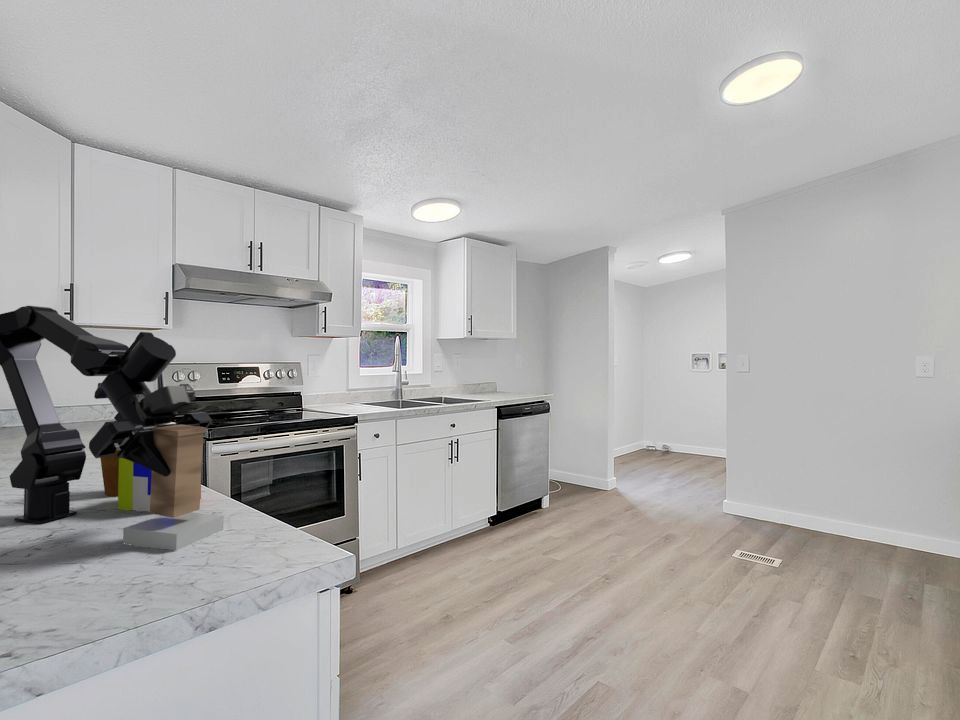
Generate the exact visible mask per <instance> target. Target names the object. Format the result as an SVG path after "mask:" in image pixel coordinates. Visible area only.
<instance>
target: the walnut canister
mask: <svg viewBox="0 0 960 720" xmlns="http://www.w3.org/2000/svg"><path fill="white" fill-rule="evenodd" d="M152 430H153V433H154V444H155V446H156V447H157V449H158V450H159V452H160V454H161V455H162V457H163V458H164V460H165V462H166V463H167V465H168V467H169V469H170V474H169V475H168V476H166V477H165V476H163V475H161V474H158V473H156V472H154V471H152V478H151V496H150V512H149V514H151V515H156V516H166V517H172V518H175V517H178V516H181V515H184V514H187V513H190V512H193V513H194V512H195V511H200V510H201V509H200V506H201V500H200V491H201V492H202V470H203V467H202V466H203V450H204V449H203V448H204V434H205V433H206V432H207V431H206V430H207V428H206V427H198V426H190V425H182V424H180V425H172V426H164V427H156V428H152Z"/></svg>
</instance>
